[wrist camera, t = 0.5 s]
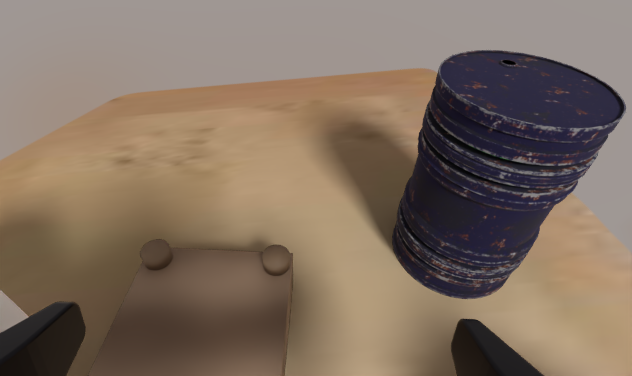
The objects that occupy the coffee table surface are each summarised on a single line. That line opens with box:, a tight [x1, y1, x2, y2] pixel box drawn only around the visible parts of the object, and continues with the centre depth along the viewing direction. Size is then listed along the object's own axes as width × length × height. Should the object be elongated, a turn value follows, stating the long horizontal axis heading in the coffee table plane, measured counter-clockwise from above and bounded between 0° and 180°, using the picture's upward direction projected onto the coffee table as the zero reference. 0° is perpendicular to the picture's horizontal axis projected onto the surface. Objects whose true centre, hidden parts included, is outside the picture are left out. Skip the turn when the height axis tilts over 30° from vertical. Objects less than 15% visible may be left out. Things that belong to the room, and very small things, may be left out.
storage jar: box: [392, 50, 626, 299], centre depth 25 cm, size 10×10×15 cm
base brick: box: [88, 239, 293, 376], centre depth 21 cm, size 12×10×4 cm
